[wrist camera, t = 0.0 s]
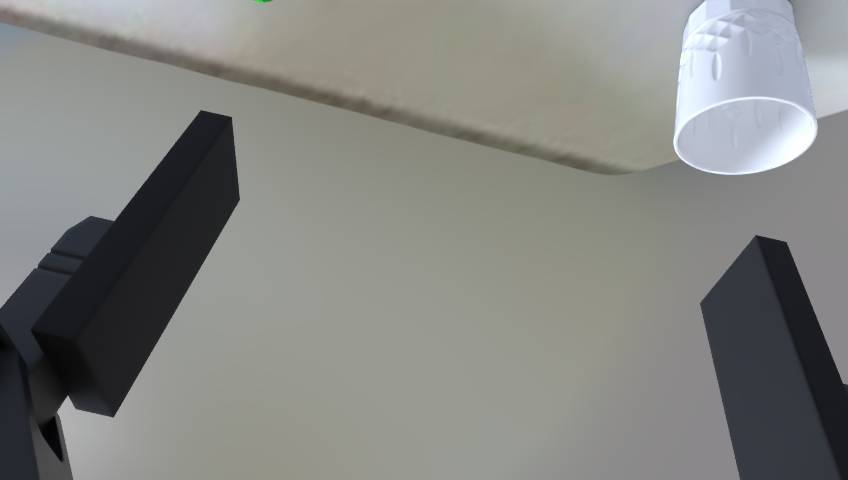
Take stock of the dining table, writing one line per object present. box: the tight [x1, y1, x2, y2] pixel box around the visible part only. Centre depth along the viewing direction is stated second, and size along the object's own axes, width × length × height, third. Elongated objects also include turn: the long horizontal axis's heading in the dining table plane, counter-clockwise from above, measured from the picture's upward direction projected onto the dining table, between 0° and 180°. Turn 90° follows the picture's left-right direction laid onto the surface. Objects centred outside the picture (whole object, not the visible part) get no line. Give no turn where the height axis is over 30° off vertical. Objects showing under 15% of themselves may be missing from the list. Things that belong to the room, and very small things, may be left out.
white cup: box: [674, 0, 818, 175], centre depth 39 cm, size 8×8×10 cm
